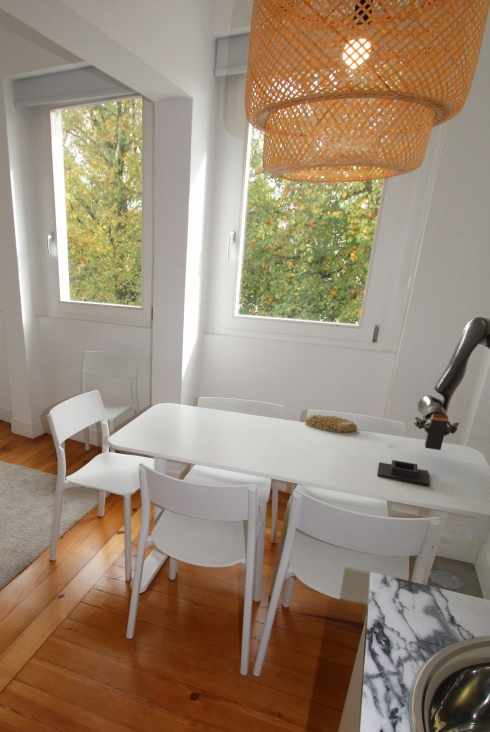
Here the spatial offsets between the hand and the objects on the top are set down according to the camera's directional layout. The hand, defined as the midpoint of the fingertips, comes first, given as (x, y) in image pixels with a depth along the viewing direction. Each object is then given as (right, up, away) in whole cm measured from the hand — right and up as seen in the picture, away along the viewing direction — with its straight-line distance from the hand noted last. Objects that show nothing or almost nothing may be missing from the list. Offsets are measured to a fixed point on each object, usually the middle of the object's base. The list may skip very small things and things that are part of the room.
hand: (437, 431), depth 156 cm
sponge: (-16, +2, +52) cm, 55 cm away
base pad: (-6, -15, +10) cm, 19 cm away
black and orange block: (+1, -5, +5) cm, 7 cm away
